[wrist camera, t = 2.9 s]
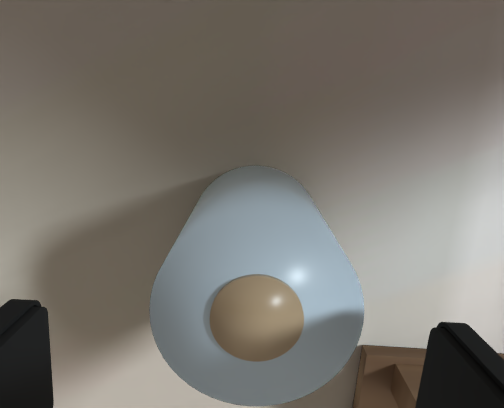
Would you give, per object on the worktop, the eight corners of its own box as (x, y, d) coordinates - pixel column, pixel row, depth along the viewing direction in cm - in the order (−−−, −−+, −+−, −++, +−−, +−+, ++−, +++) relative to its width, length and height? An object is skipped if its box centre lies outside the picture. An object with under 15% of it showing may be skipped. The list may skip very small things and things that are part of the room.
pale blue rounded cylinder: (194, 161, 18) (147, 208, 10) (324, 169, 18) (381, 223, 10) (191, 280, 19) (147, 405, 11) (310, 288, 19) (350, 417, 11)
